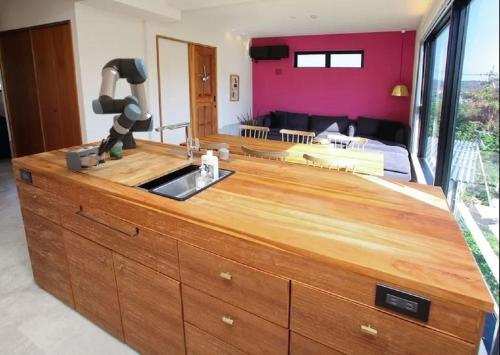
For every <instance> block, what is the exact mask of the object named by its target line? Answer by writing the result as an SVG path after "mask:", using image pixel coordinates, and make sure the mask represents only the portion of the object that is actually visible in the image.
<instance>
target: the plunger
mask: <svg viewBox="0 0 500 355" xmlns="http://www.w3.org/2000/svg"><path fill="white" fill-rule="evenodd" d="M80 162H81V165H85V166H91V167H92V166H93V165H96V160H95V158H92V157H81V158H80ZM93 167H94V166H93Z"/></svg>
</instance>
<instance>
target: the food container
mask: <svg viewBox="0 0 500 355" xmlns="http://www.w3.org/2000/svg"><path fill="white" fill-rule="evenodd" d="M122 146H123V144H122V142H121V141H118V142H117V143H116V144H115V145H114V146H113V148H112V149H111V150H108V154H109V158H110V161H118V160H122V159H123V149H122Z"/></svg>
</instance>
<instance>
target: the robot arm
mask: <svg viewBox="0 0 500 355" xmlns="http://www.w3.org/2000/svg"><path fill="white" fill-rule="evenodd" d="M147 67H148V66H147V64H146V61H145V60H144V59H143V58H137V57H134V58H133V57H131V58H129V57H128V58H127V57H126V58H124V57H123V58H121V57H120V58H119V57H116V58H113V59H111V60H109V61H107V63H105V65H103V67H102V70H101V73H100V74H101V84H100V89H99V94H98V98H97V99H93V100H92V102H91V107H92V110H93V113H94V114H95V115H102V116H103V115H114V116H113V117H112V118H113V124H112V126H111V127H110V129H109V131H108V132H109V134H108V135H107V137H106V138H102V140H101V143H100V144H99V145H98V146H99V148H98V150H99V152H98V153H97V155H96V156H95V158H96V159H97V160H98V161H99V160H101V158H102V157H103V156H104V154H105V155H106V153H107V154H109V150H111V149H112V148H113V146H114V145H115V144H116V143H117V142H118V141H121V142H122V144H123V146H122V150H131V149H135V148H137V147H138V146H137V142H136V140H135V137H134V133H149V132H153V130H154V114H152V113H151V112H150V110H149V108H148V102H147V95H146V88H145V82H146V81H147V79H148V77H149V73H148V68H147ZM119 79H122V80H123V79H124V80H126V82H127V83H128V84H129V86H130V87H129V88H130V93H131V95H127V96H124V98H116V99H115V96H116V95H115V93H116V87H117V82H118V81H119Z"/></svg>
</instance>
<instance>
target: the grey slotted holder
mask: <svg viewBox="0 0 500 355" xmlns="http://www.w3.org/2000/svg"><path fill="white" fill-rule="evenodd" d="M99 146H100V145H97V144H95V145H94V144H93V145H86V146H81V147H79V148H75V149H71V150H68V151H64V156H65V161H66V168H67V171H69V172H80V171H81V172H83V169H82V168H90V169H91V168H92V166H85V165H81V162H80V158H81V157H89V154H96V155H97V152H99V150H98V148H99ZM100 164H106V158H105V159H102V160H99V161H97V162H96V165H93V167H98V166H100ZM97 165H98V166H97Z"/></svg>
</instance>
